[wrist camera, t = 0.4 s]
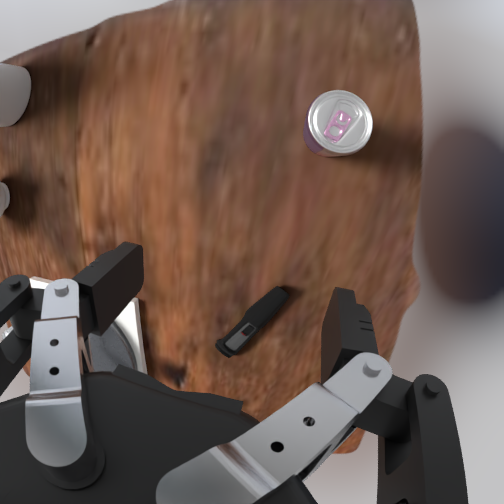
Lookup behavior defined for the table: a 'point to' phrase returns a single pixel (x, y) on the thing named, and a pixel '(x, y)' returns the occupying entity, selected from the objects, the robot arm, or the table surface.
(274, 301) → the electric trimmer
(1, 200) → the teacup
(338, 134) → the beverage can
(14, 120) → the cylinder vase
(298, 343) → the table surface
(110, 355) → the dial
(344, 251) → the table surface
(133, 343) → the dial base plate
